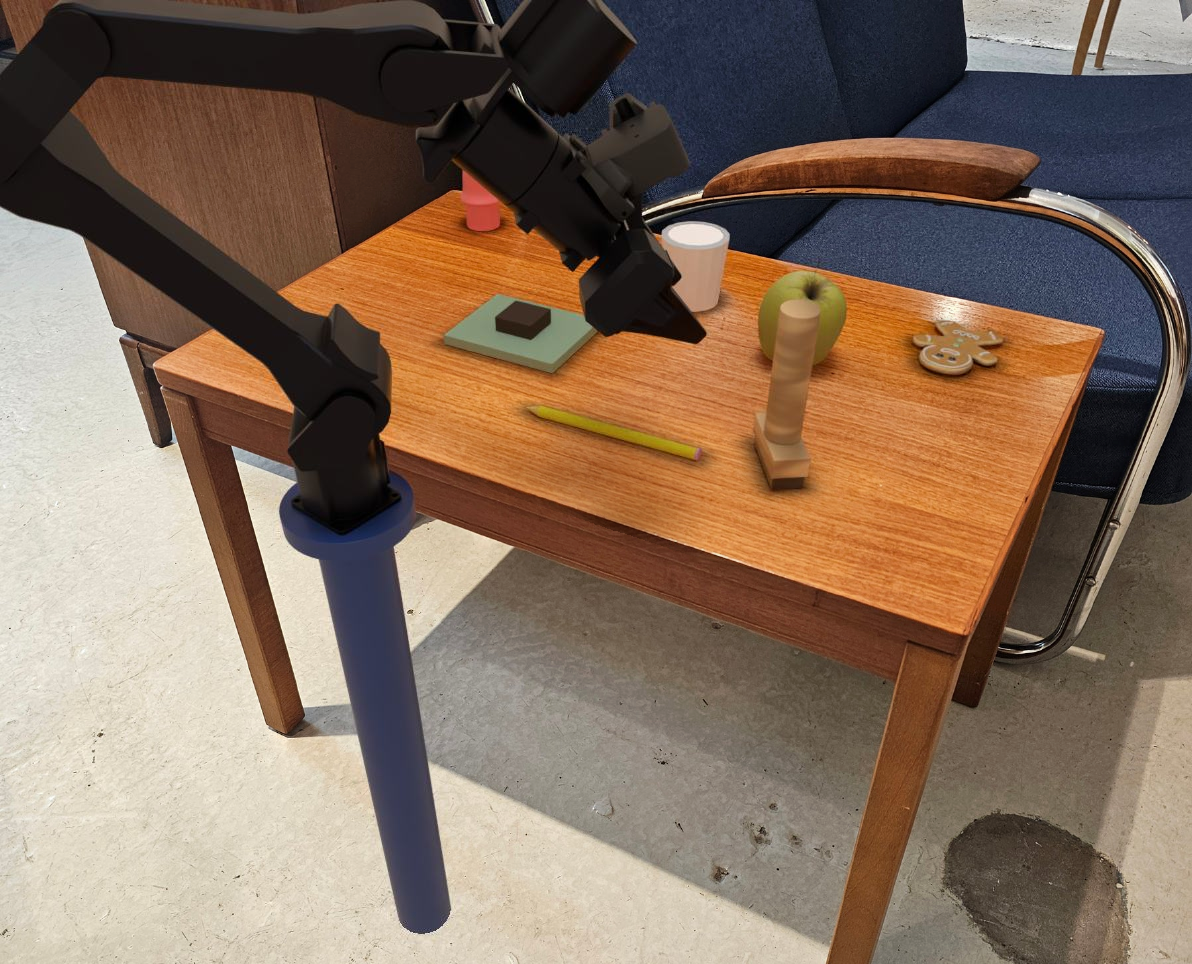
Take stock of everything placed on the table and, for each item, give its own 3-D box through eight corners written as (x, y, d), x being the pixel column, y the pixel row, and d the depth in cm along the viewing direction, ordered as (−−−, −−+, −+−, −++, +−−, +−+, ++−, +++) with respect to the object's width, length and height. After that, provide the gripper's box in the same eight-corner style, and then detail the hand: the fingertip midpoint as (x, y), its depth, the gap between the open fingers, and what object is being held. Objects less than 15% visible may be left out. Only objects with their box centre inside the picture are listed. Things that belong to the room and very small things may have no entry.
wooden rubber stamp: (769, 491, 84) (791, 331, 75) (751, 442, 89) (770, 288, 80) (806, 489, 84) (833, 330, 75) (785, 441, 90) (808, 286, 80)
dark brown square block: (531, 340, 101) (530, 326, 100) (495, 331, 102) (494, 316, 101) (551, 322, 103) (551, 308, 102) (516, 314, 105) (515, 299, 104)
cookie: (1015, 334, 102) (982, 377, 96) (1013, 343, 103) (979, 386, 96) (933, 311, 105) (895, 351, 99) (931, 320, 106) (893, 360, 100)
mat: (552, 373, 98) (552, 364, 97) (444, 344, 102) (443, 334, 101) (601, 328, 105) (601, 319, 104) (498, 302, 109) (497, 293, 108)
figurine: (455, 231, 122) (443, 94, 112) (466, 214, 126) (456, 79, 116) (498, 235, 121) (490, 97, 111) (508, 217, 125) (501, 82, 115)
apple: (745, 324, 103) (788, 232, 96) (820, 354, 103) (868, 265, 97) (736, 364, 97) (782, 270, 90) (816, 396, 98) (867, 305, 91)
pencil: (701, 456, 88) (701, 446, 87) (696, 462, 87) (697, 452, 87) (528, 409, 93) (528, 399, 93) (523, 414, 93) (522, 404, 92)
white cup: (731, 290, 111) (737, 225, 106) (715, 319, 106) (720, 252, 101) (668, 280, 113) (672, 216, 108) (649, 308, 108) (652, 242, 103)
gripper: (637, 117, 59) (808, 285, 67) (594, 30, 73) (740, 178, 81) (509, 263, 64) (683, 403, 72) (491, 155, 78) (639, 283, 86)
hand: (689, 308), depth 78 cm, fingers open, 9 cm apart
